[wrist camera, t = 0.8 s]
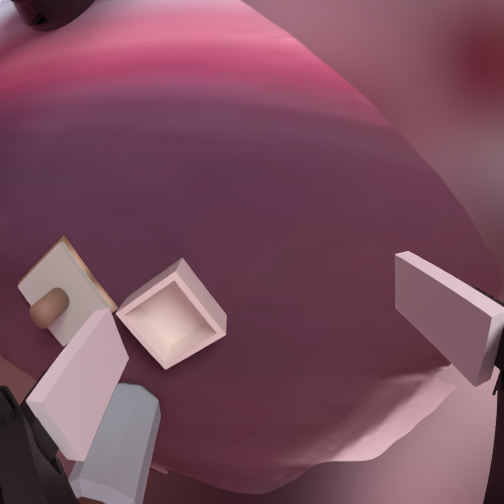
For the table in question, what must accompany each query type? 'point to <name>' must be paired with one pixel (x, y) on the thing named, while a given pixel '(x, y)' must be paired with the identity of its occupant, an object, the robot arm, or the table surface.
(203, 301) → the dish
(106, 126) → the table surface
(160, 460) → the table surface
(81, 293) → the lid
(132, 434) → the water bottle
